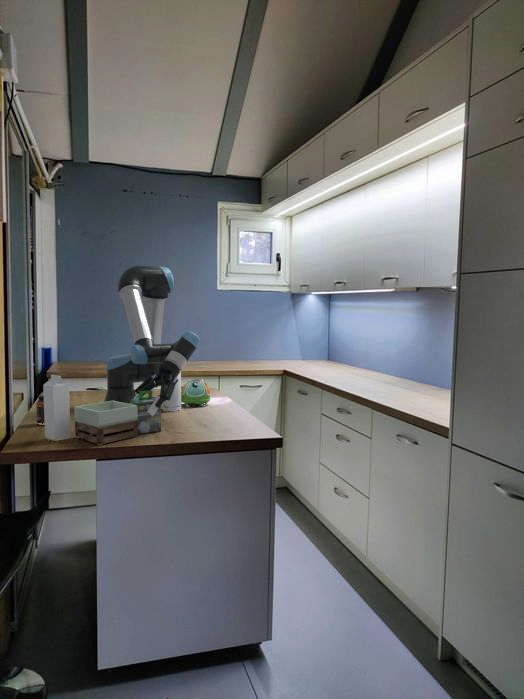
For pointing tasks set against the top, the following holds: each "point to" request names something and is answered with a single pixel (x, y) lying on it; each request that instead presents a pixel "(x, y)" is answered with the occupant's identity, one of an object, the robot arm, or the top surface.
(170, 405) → the bottle
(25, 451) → the top surface
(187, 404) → the turtle holder
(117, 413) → the box
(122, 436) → the lower crate
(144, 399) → the chalk box
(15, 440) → the top surface
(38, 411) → the supplement bottle
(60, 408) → the milk
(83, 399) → the top surface
